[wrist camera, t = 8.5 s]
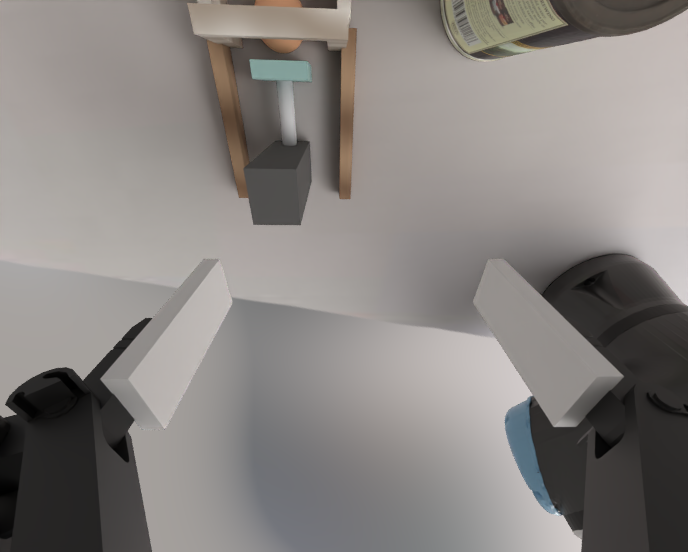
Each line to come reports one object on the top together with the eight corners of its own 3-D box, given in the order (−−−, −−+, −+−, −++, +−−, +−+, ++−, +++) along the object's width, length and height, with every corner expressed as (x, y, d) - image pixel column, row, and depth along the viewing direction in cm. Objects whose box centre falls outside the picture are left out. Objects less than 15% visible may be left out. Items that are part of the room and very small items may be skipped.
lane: (349, 193, 31) (352, 214, 26) (244, 192, 31) (225, 213, 25) (358, -77, 20) (368, -139, 14) (190, -85, 19) (135, -154, 14)
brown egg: (301, -8, 18) (304, -22, 20) (242, -11, 18) (252, -25, 20) (306, 62, 22) (308, 44, 24) (257, 60, 22) (264, 42, 24)
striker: (315, 181, 30) (306, 225, 20) (276, 180, 30) (247, 224, 20) (311, 65, 24) (295, 47, 14) (262, 64, 24) (211, 44, 14)
